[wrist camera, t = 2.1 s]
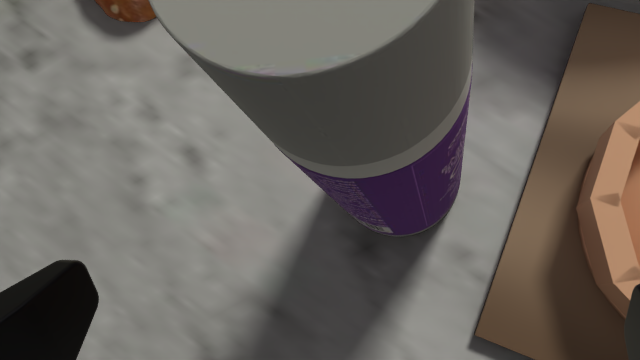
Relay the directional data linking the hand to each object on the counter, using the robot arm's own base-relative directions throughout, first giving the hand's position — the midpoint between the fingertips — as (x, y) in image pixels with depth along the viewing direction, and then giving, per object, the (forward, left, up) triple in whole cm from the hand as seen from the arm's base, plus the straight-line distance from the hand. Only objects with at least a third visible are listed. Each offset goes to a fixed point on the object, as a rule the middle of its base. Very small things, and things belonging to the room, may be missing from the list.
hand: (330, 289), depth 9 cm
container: (+4, +1, -12) cm, 13 cm away
